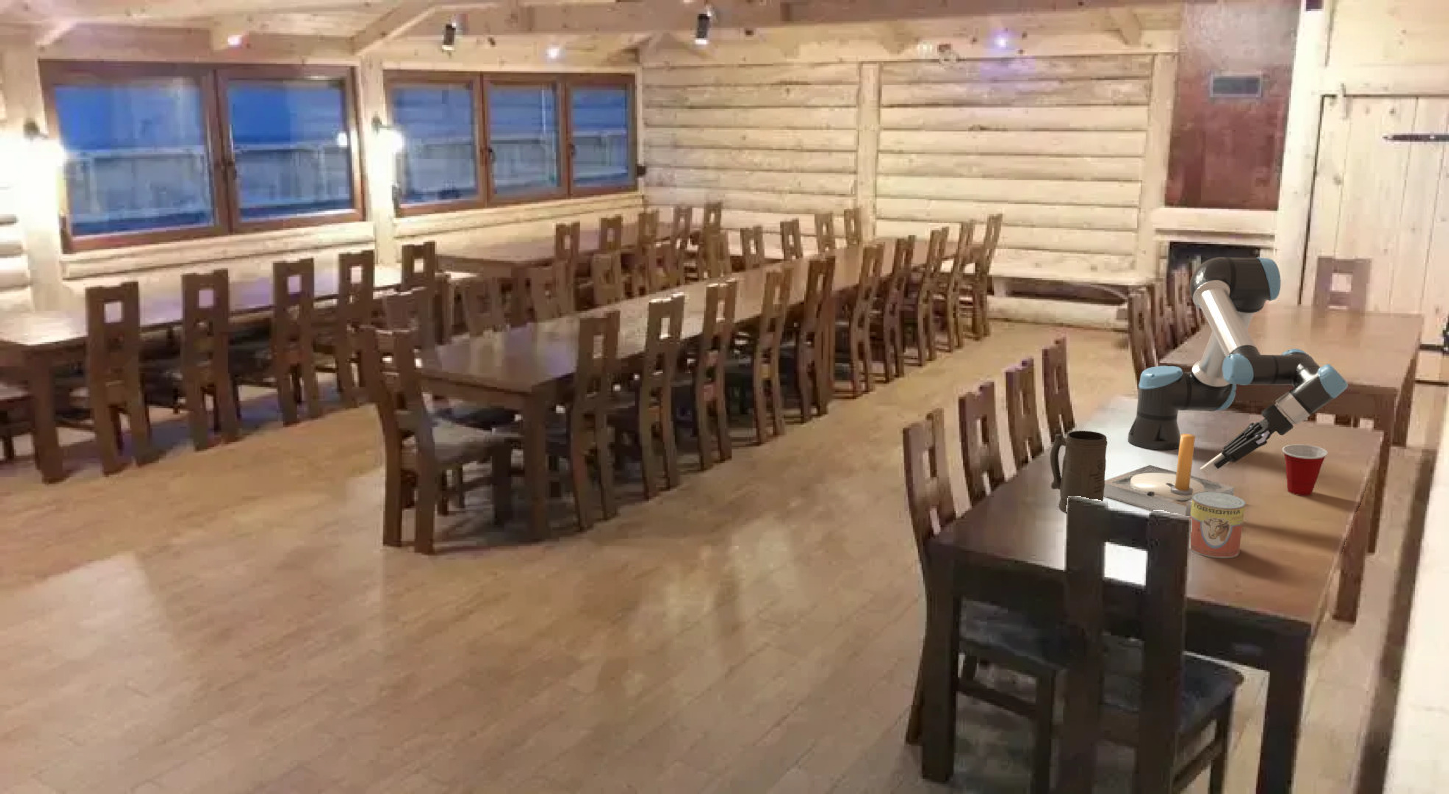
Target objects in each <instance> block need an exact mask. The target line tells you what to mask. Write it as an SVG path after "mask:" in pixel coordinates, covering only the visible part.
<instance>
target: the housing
mask: <svg viewBox="0 0 1449 794" xmlns="http://www.w3.org/2000/svg"><path fill="white" fill-rule="evenodd" d="M1143 473H1166V474H1174V475H1176V473H1177V471H1175V470H1171V469H1170V470H1169V469H1166V468H1163V467H1159V466H1154V465H1150V464H1148V465H1146V466H1142V467H1139V468H1137V469H1135V470H1131V471H1129V472H1126V473H1123V474H1120V475H1118V476H1117V475H1116V476H1115V477H1111V478H1109V479H1105V488H1104V496H1103V497H1106V498H1110V499H1113V500H1116V499H1117V500H1116V501H1119V500H1120V501H1119V502H1123V503H1126V504H1129V505H1133V506H1137V507H1140V508H1142V509H1147V510H1149V511H1153V510H1164V511H1167V512H1170V513H1178V514H1181V515H1184V516H1190V515H1191V506H1192V497H1191V499H1190V500H1172V499H1168V498H1165V497H1161V496H1158V495H1154V492H1152V491H1150V492H1148V493H1147V492H1144V491H1140V490H1136V489H1133V488H1131V486H1130V482H1131V478H1132V477H1133V476H1135V475H1138V474H1143ZM1190 478H1191V479H1193V480H1196V481H1198V482H1200V483H1201V484H1202V485H1203V486H1204V492H1219V493H1225V494H1230V495H1233V496H1234V494H1235V493H1234V491H1235V486H1231V485H1228V484H1224V483H1220V482H1215V481H1213V480H1208V479H1205V478H1200V477H1198V476H1193V475H1191V477H1190Z"/></svg>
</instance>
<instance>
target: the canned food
mask: <svg viewBox="0 0 1449 794" xmlns="http://www.w3.org/2000/svg"><path fill="white" fill-rule="evenodd" d="M1245 509H1246V501H1245V500H1244V499H1242V498H1240V496H1237V495H1234V494H1233V495H1230V494H1225V493H1219V492H1199V493H1195V494H1193V495H1192V506H1191V515H1190V518H1189V520H1190V519H1192V532H1191V550H1190V551H1191V552H1193V553H1195V554H1198V555H1201V556H1204V557H1209V558H1215V559H1229V558H1235V557H1237V556H1238V555H1239V554H1240V547H1241V541H1242V539H1241V538H1242V531H1243V522H1244V516H1245Z"/></svg>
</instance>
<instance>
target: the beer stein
mask: <svg viewBox="0 0 1449 794" xmlns="http://www.w3.org/2000/svg"><path fill="white" fill-rule="evenodd" d="M1107 438H1108V437H1107V436H1106V434H1103V433H1101V432H1097V431H1090V430H1073V431H1070V432H1067V435H1066V437H1064V435H1062V434H1060V433H1056V434H1055V435H1054V441H1053V443H1052V447H1051V449H1050V453H1049V456H1050V457H1049V459H1050V460H1049V463H1050V468H1051V473H1052V475H1053V476H1052V477H1053V479H1052V480H1053V481H1052V482H1051V485H1050V487H1051V489H1052V490H1059V492H1060V493H1059V497H1060V500H1059V502H1058V508H1059V509H1060V510H1061V511H1062V512H1064V513H1066V505H1067V498H1068V496H1081V497H1086V498H1089V499H1098V500H1101V501H1102V502H1103V501H1104V497H1105V496H1104V488H1105V480H1106V479H1105V478H1106V477H1105V476H1106V465H1107V460H1106V456H1107V446H1108V441H1107V440H1108V439H1107ZM1063 446H1064V448H1065V450H1064V451H1065V452H1064V456H1063V460H1062V469H1061V468H1060V461H1059V453H1060V449H1061V447H1063ZM1060 469H1061V470H1060Z"/></svg>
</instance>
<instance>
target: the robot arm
mask: <svg viewBox="0 0 1449 794" xmlns="http://www.w3.org/2000/svg"><path fill="white" fill-rule="evenodd" d="M1280 272H1281V271H1280V268H1279V267H1278V265H1277V263H1276V262H1275V261H1274V260H1273V259H1271V258H1264V257H1260V256H1258V257H1256V258H1255V257H1223V256H1221V257H1213V258H1210V259H1208V260H1206V261H1204V262H1203V263H1201V264H1200V265H1199V266H1198V267H1197V268H1196V269H1195V270H1194V272H1193V273H1192V276H1191V278H1190V282H1189V294H1190V298H1191V300H1192V302H1193V304H1194V305H1195V307H1197V308H1198V309H1201V311H1202V313H1203V315H1204V317H1205V319H1206V320H1207V322H1208V325H1209V327H1210V329H1211V334H1210V336H1209V339H1208V341H1207V344H1206V346H1205V348H1204V352H1203V354H1202V357H1201V359H1200V360H1198V361H1196V362H1195V363H1194V364H1193V366H1192V368H1191V370H1190V371H1183V369H1182V368H1181V367H1179V366H1174V365H1170V366H1168V365H1159V366H1158V365H1157V366H1152V367H1148V368H1146V369H1143V371H1142V372H1141V374H1140V379H1139V383H1138V396H1137V406H1136V414H1135V418H1134V421H1133V423H1132V425H1131V427H1130V429H1129V431H1128V435H1127V437H1128V438H1127V442H1128V443H1129V444H1131V445H1133V446H1137V447H1139V448H1144V449H1150V450H1160V451H1161V450H1162V451H1163V450H1164V451H1166V450H1169V451H1170V450H1175V449H1179V446H1180V437H1181V433H1180V428H1179V424H1178V414H1179V411H1188V412H1189V411H1193V412H1194V411H1195V412H1196V411H1197V412H1202V411H1203V412H1216V411H1217V412H1218V411H1224V410H1226V409H1228V408H1229V407H1230V406H1231V405H1232V403H1233V402H1234V400H1235V397H1236V390H1237V385H1239V386H1248V385H1249V386H1293V388H1292V389H1289V390H1288V391H1286V392H1285V393H1284V394H1283V395H1281V396H1280V397H1279V398H1278V399H1275V400H1274V401H1275V403H1272V404H1270V405H1268V406H1267V407H1265V408H1264V409H1263V410H1261V412H1260V413H1261V416H1262V417H1263V419H1262V420H1260V421H1256V422H1250V423H1249V425H1248V426H1247V427H1246V428H1244V430H1242V432H1240V433H1239V434H1238V435H1237V436H1235V437H1234V438H1233V439H1231V441H1229V442H1228V443H1227V444H1226V445H1224V446H1223V448H1222V451H1221V452H1220V453H1219V454H1217V455H1216V456H1215V457H1213V458H1211V459H1210V460H1209V461H1208V462H1206V463H1205V464H1204V465H1202V466H1201V467H1200V468H1199V470H1200V472H1202V473H1203V475H1205V477H1206V478H1210V477H1211V476H1213V475H1214V474H1215V473H1216V472H1218V471H1219V470H1221V469H1223V468H1224V467H1225V466H1226V465H1228V464H1230V463H1231V462H1232V464H1233V463H1236V462H1237V461H1239V460H1241V459H1242V458H1244V457H1246V456H1247V455H1249V454H1251V453H1252V452H1254V451H1255V450H1257V449H1258V448H1260V447H1263V446H1266V445H1267V444H1268V440H1269V439H1270V438H1271V436H1272V435H1273V434H1274V433H1275V432H1277V434H1278V435H1280V436H1284V435H1285V434H1287V433H1288V432H1289V431H1291V430H1293V428H1294V425H1299V424H1300V423H1301V422H1303V421H1305V422H1307V421H1308V417H1311V416H1312V415H1313V414H1314V413H1316V412H1317V411H1319V410H1321V408H1323V407H1324V406H1326V405H1328V404H1329V403H1330V402H1331V401H1332V400H1334V399H1336V398H1338V396H1339V395H1341V394H1342V393H1343V392H1344V391H1345V390H1346V389H1348V387H1349V384H1348V381H1347V380H1345V378H1344V377H1343V376H1342V375H1341V374H1340V373H1339V372H1338V370H1336V369H1335V367H1333V366H1332V364H1329V363H1326V364H1324V365H1322V366H1320V365H1319V364H1318V363H1317V362H1316V360H1315V359H1314V358H1313V357H1312V356H1311V355H1309V354H1308V353H1306V352H1305V351H1304V350H1303V349H1300V348H1290V349H1288V350H1286V351H1285V350H1284V352H1282V353H1281V354H1261V353H1260V351H1259V349H1258V348H1257V346H1256V344H1255V342H1254V339H1253V338H1252V337H1251V334H1250V332H1249V331H1248V329H1249V327H1250V324H1251V322H1252V319H1253V317H1254V315H1255V314H1257V313H1260V311H1262V310H1263V308H1264V305H1265V304H1266V301H1268V302H1272V301H1275V300H1277V298H1278V297H1279V295H1280V291H1281V284H1282V283H1281V281H1282V280H1281V273H1280Z"/></svg>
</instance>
